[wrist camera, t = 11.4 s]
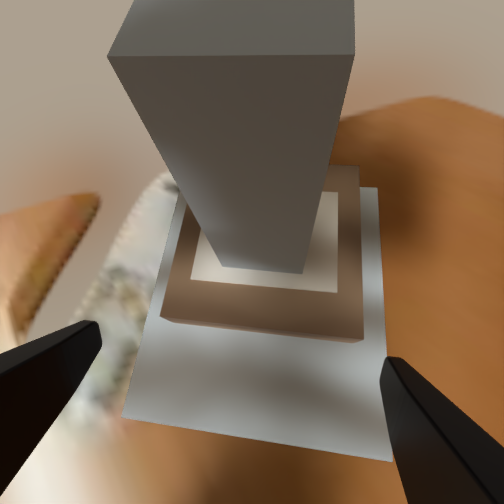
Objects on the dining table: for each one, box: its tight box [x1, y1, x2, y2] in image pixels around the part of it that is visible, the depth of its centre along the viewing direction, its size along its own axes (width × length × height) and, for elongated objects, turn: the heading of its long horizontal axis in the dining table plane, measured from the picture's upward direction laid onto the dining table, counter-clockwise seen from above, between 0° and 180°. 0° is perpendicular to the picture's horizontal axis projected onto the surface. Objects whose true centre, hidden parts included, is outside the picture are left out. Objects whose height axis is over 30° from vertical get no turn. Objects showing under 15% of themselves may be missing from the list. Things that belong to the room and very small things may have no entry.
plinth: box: [121, 165, 393, 462], centre depth 19 cm, size 18×16×4 cm
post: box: [107, 0, 355, 274], centre depth 12 cm, size 5×5×13 cm
